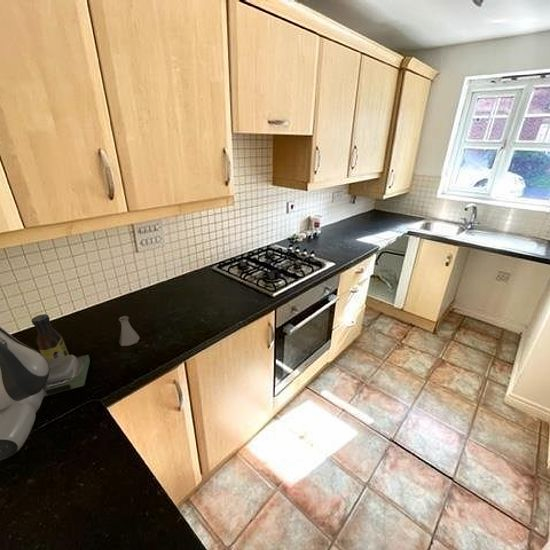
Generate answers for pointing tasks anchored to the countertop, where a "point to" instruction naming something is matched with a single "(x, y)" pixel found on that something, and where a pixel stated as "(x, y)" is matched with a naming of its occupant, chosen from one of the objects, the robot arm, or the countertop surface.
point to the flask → (127, 333)
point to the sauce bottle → (48, 337)
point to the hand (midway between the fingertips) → (38, 357)
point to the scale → (76, 381)
